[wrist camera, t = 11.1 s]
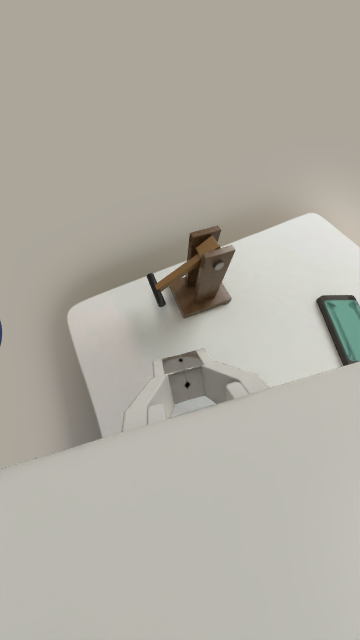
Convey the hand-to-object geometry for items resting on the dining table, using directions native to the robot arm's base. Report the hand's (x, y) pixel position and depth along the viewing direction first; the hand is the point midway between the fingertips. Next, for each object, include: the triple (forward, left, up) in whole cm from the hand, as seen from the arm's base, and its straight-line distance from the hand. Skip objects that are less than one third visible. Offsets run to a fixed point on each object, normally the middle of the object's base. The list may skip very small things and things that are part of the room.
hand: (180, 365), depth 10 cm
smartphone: (+34, -4, -19) cm, 39 cm away
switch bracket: (+11, +14, -19) cm, 26 cm away
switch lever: (+7, +14, -11) cm, 20 cm away
